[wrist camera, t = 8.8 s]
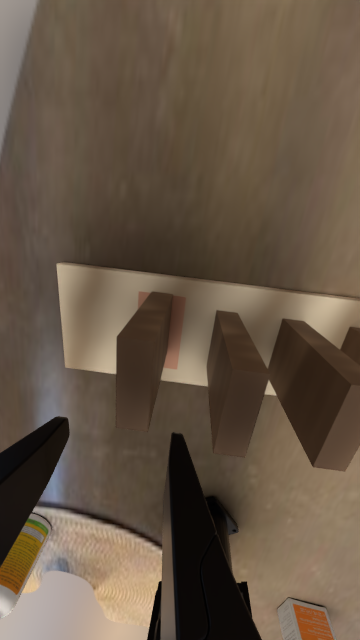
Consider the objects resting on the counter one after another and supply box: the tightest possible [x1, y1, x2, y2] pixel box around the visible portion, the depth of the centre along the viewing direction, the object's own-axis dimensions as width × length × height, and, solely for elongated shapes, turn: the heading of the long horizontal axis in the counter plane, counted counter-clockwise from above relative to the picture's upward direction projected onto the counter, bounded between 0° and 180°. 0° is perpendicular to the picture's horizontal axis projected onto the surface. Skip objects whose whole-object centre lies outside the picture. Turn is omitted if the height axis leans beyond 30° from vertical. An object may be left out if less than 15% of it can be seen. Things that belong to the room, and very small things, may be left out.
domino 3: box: [268, 318, 360, 471], centre depth 14 cm, size 2×5×8 cm, turn 174°
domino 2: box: [206, 310, 270, 458], centre depth 14 cm, size 2×5×8 cm, turn 174°
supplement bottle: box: [0, 513, 51, 619], centre depth 26 cm, size 5×5×10 cm
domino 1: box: [116, 291, 173, 432], centre depth 14 cm, size 2×5×8 cm, turn 174°
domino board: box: [56, 262, 360, 396], centre depth 18 cm, size 32×9×1 cm, turn 84°
